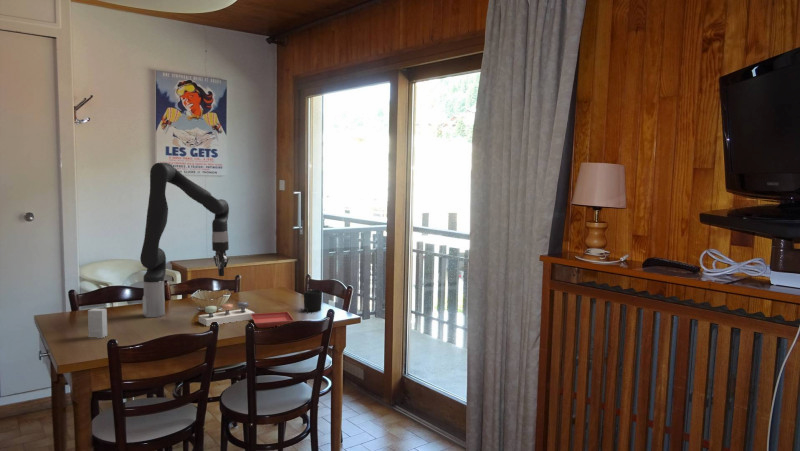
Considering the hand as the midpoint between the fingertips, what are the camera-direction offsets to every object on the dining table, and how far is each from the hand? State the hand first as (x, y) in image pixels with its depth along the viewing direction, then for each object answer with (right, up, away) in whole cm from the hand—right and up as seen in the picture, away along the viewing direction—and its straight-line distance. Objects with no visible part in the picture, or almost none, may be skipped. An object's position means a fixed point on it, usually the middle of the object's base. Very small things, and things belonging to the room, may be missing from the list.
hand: (221, 275), depth 272 cm
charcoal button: (+10, -18, +2) cm, 21 cm away
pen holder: (+41, -20, +21) cm, 50 cm away
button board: (+4, -21, -3) cm, 22 cm away
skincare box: (-42, -23, -34) cm, 59 cm away
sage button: (-2, -19, -8) cm, 21 cm away
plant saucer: (+26, -23, -6) cm, 35 cm away
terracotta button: (+4, -19, -3) cm, 19 cm away
